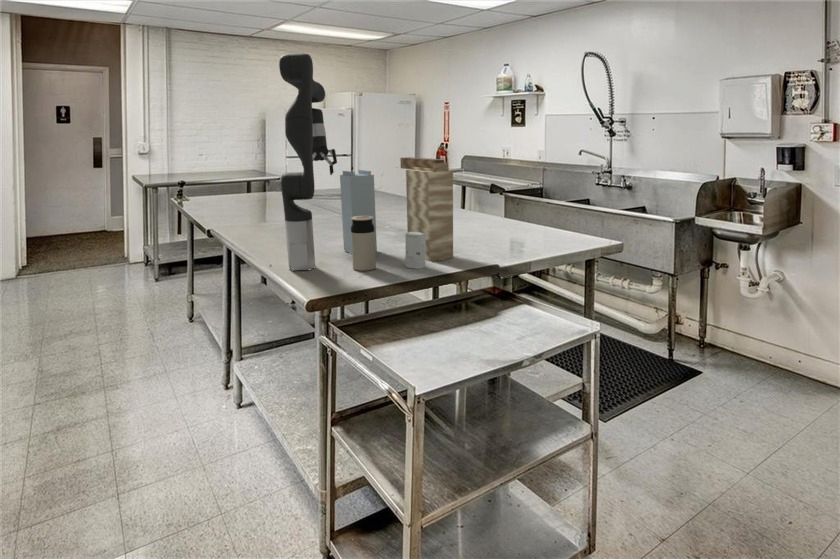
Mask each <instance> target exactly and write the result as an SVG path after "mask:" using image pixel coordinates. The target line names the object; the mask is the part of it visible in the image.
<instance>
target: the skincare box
mask: <svg viewBox="0 0 840 559" xmlns="http://www.w3.org/2000/svg"><path fill="white" fill-rule="evenodd" d="M425 253H426V233H420V232H409V233H408V232H407V233H405V268H408V269H415V270H422V269H424V268H425V267H426V260H425Z"/></svg>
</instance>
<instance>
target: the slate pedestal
mask: <svg viewBox="0 0 840 559" xmlns="http://www.w3.org/2000/svg"><path fill="white" fill-rule="evenodd" d="M357 171H358V173H355V171H347V170H342V174H340V175H339V182H340V201H341V217H342V218H341V220H342V221H341V222H342V237H343V238H342V240H343V251H344V250H345V251H347V252H349V253H351V254H350V255H352V241H351V226H352V224H353V222H352V219H351V218H352V217H355V216H372V217H373V219H372V223H373V225H374V234H375V253H378V250H377V248H378V246H377V242H378V241H377V224H376V222H377V220H376V199H375V198H376V194H375V175H374V174H372V171H371V170H366V169H365V170H364V169H358V170H357ZM345 251H344V252H345ZM347 252H346V253H347ZM349 253H348V254H349Z"/></svg>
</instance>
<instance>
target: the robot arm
mask: <svg viewBox="0 0 840 559" xmlns="http://www.w3.org/2000/svg"><path fill="white" fill-rule="evenodd" d="M278 62H279V63H278V65H279V66H278V67H279V72H280V76H281V79H282V80H283V81H285V82H286V83H288V84H289V85H291V86H293V87H294V88H296V89H297V90H298V91H297V96H296V97H295V99H294V100H293V102H292V103H291V105H290V106H289V108H288V110H287V111H286V113H285V117H284V118H285V119H284V123H285V124H284V125H285V126H284V128H285V138H286V139H287V141H288V143H289V145H290V146H291V147H292V149H293V150H294V152H295V153H296V154H297V156H298V158H299V159H300V161H301V165H302V167H303V171H301V172H300V171H297V172H296V171H295V172H292V171H291V172H284V173H283V174H281V178H280V188H281V189H280V190H281V196H282V204H283V214H284V224H285V235H286V236H285V237H286V248H287V258H288V259H287V260H288V269H289V268H290V269H291V270H309V269H311V270H313V269H312V268H314V267H315V268H316V267H317V266H316V254H315V252H316V251H315V241H314V240H315V238H314V226H313V213H312V211H311V210H309V209H307V208H304V207H301V206H299V205H298V204H296V202H295V201H302V200H312V199H314V195H315V174H314V162H319V161H325V162H327V164H328V165H329V175H330V176H333V174H334V172H335V171H334V165H336V164H337V163H338V161H337V160H338V159H337V154H336V148H331V149H328V142H327V132H326V127H325V122H324V114H323V110H322V109H320V108H314V107H313V103H314V104H315V103H321V102H323V101H324V100H325V98H326V91H325V88H324V86H323V84H321V83H320V82H318V81H315V80H314V65H313V64H314V63H313V60H312V57H311V55H310V54H308V53H287V54H286V53H285V54H282V55H281V56H280V58H279V61H278ZM329 154H330V155H332V160H333V161H331V159H330V158H329V157H328V155H329ZM315 268H314V269H315ZM290 269H289V270H290ZM291 270H290V271H291ZM309 271H310V270H309Z"/></svg>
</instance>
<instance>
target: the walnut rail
mask: <svg viewBox="0 0 840 559" xmlns="http://www.w3.org/2000/svg"><path fill="white" fill-rule="evenodd" d="M399 158H400V160H399V161H400V169H403V170H404V169H405V170H412V167H420V168H431V169H433V163H444V162H445V159H443V158H441V159H440V158H425V157H424V158H423V157H412V156H411V157H410V156H409V157H407V156H406V157H399Z"/></svg>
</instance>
